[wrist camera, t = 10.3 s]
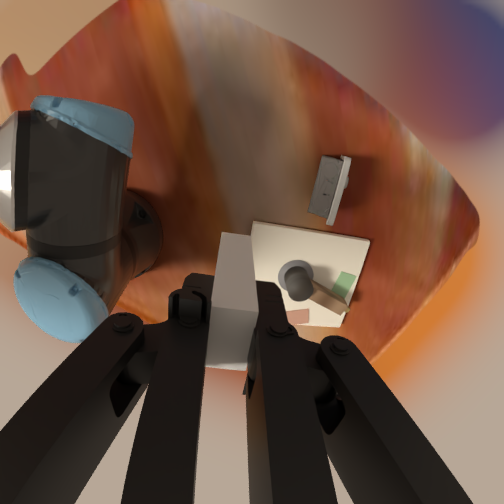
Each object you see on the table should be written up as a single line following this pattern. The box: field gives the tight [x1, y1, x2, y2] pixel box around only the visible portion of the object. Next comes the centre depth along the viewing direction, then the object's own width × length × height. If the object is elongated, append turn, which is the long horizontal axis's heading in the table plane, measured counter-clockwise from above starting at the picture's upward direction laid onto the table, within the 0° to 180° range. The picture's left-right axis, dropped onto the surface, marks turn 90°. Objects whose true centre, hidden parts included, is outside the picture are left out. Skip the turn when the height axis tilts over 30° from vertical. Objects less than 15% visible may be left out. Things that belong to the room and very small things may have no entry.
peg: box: [284, 266, 350, 316], centre depth 47 cm, size 14×4×4 cm, turn 58°
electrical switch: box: [308, 155, 351, 226], centre depth 39 cm, size 9×5×9 cm, turn 168°
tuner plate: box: [250, 221, 370, 327], centre depth 49 cm, size 20×18×2 cm
